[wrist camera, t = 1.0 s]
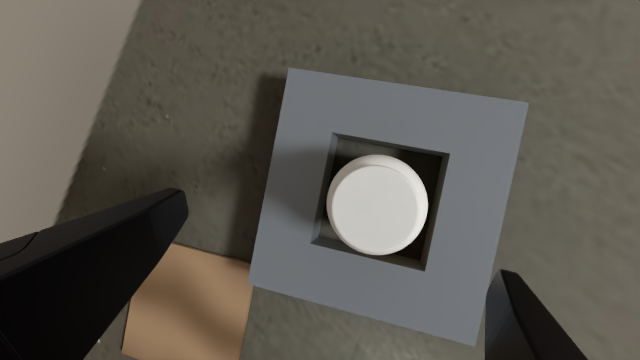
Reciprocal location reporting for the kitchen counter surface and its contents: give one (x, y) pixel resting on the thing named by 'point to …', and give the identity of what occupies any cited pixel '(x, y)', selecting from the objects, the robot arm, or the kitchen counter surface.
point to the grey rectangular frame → (446, 213)
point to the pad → (190, 308)
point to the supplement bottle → (377, 204)
